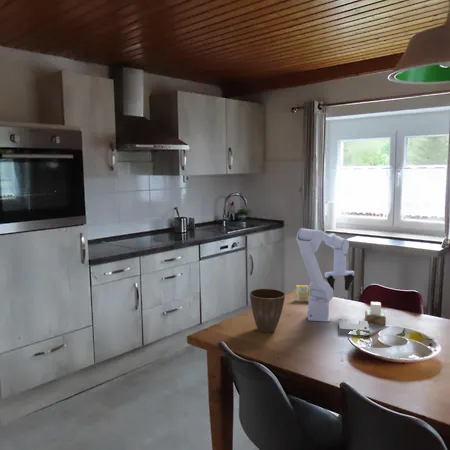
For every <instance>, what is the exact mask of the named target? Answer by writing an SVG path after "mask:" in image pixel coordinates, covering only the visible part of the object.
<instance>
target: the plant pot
mask: <svg viewBox="0 0 450 450" xmlns="http://www.w3.org/2000/svg"><path fill="white" fill-rule="evenodd" d="M249 297H250V306H251V311H252V315H253V319H254V323H255V325H256V328H257V330H258V331H259V332H261V333H267V334H269V333H274V332H275V331H276V329H277V326H278V324H279V321H280V319H281V315H282V313H283V309H284V304H285V298H286V293H285V292H284V291H282V290H279V289H275V288H258V289H253V290H250V291H249Z"/></svg>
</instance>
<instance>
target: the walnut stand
mask: <svg viewBox="0 0 450 450" xmlns="http://www.w3.org/2000/svg"><path fill="white" fill-rule="evenodd" d="M364 314H365V315H364V319H365V320H364V321H368V325H378V326H379V325H380V326H386V323H387V322H386V319H387V316H386V314H385V312H384V310H381V315H373V314H371V312H370V309H366V310H365V311H364Z"/></svg>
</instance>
